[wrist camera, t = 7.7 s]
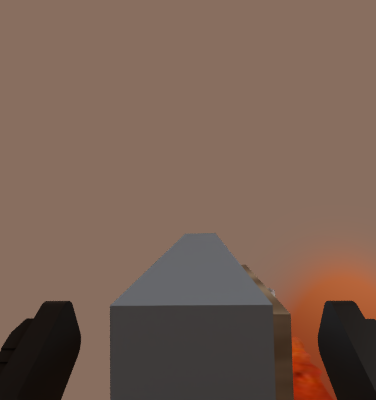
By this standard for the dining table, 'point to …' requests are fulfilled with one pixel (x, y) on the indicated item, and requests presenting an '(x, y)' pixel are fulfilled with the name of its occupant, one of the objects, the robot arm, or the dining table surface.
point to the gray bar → (193, 329)
